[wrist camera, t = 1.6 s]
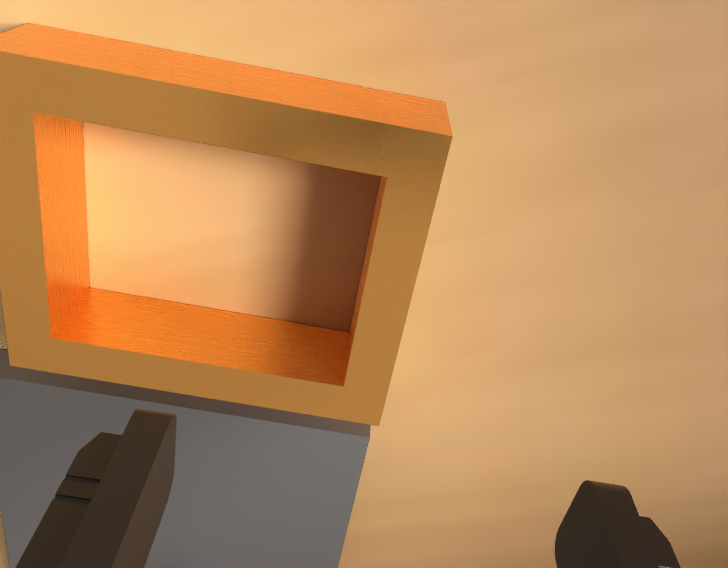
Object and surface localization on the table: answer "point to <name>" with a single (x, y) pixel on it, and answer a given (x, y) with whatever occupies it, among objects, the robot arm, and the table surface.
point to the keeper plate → (188, 470)
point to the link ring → (219, 128)
